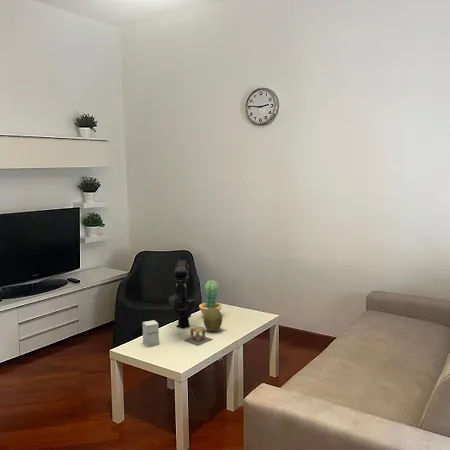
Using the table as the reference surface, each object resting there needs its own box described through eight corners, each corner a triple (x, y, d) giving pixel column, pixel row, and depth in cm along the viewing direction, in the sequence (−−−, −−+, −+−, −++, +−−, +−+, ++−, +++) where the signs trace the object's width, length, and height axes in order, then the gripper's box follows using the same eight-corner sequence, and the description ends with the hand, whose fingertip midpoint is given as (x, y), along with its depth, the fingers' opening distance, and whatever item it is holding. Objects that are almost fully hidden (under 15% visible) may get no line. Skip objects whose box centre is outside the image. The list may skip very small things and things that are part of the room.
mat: (183, 340, 275) (183, 340, 275) (198, 335, 284) (198, 334, 284) (198, 345, 267) (198, 345, 267) (212, 339, 276) (212, 339, 276)
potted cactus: (224, 319, 311) (224, 282, 308) (201, 322, 307) (201, 284, 304) (219, 312, 326) (218, 277, 323) (197, 314, 322) (196, 278, 319)
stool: (190, 339, 275) (190, 328, 274) (197, 336, 280) (197, 325, 279) (197, 342, 271) (197, 330, 270) (205, 339, 276) (205, 327, 275)
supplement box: (146, 347, 266) (146, 325, 265) (142, 342, 273) (142, 321, 271) (159, 344, 270) (158, 323, 268) (155, 340, 276) (154, 319, 274)
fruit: (225, 331, 290) (225, 307, 288) (211, 335, 283) (211, 311, 281) (214, 326, 299) (214, 303, 297) (200, 330, 291) (199, 307, 290)
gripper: (160, 289, 279) (161, 315, 281) (182, 295, 267) (182, 321, 269) (174, 285, 287) (175, 310, 289) (196, 290, 275) (196, 316, 277)
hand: (182, 314), depth 281 cm, fingers open, 9 cm apart
